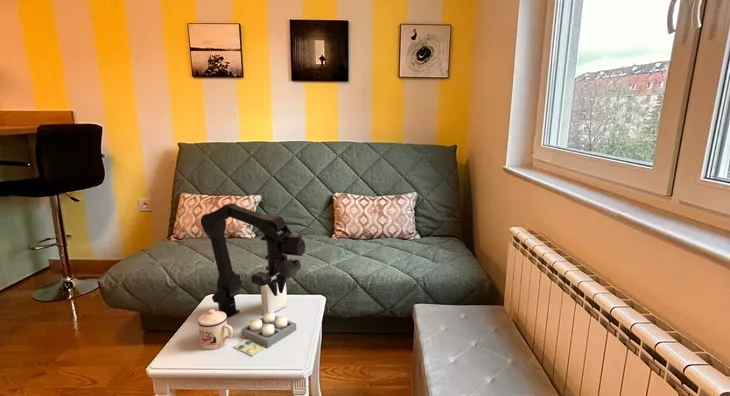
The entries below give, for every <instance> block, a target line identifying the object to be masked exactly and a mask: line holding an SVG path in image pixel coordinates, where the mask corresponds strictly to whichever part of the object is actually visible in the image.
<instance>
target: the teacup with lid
mask: <svg viewBox="0 0 730 396" xmlns="http://www.w3.org/2000/svg"><path fill="white" fill-rule="evenodd" d="M227 320H228V318H227V315H226V314H225V313H224V312H222V311H219V310H215V309H213V308H211V309H209V310H208V312H205V313H203V314H201V316H199V317H198V319H197V324H198V331H199V339H200V340H199V341H200V347H201V348H203V349H204V350H216V349H220V348H222V347H224V346H226V345H227V343H228V342H229V339H231V338H232V336H233V334H234V330H233V327H232V326H231V325H230V324H228V321H227Z"/></svg>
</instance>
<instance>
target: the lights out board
mask: <svg viewBox="0 0 730 396" xmlns="http://www.w3.org/2000/svg"><path fill="white" fill-rule="evenodd" d="M278 317H279V315H275V319H276V318H278ZM259 319H260V320H262V326H264V325H266V324H265V323H264V319H263V317H261V318H259ZM272 324H273V325H274V332H275V334H274V335H273V336H271V337H263V336H262V330H260V331H258V332H252V331H250V324H248V325H247V326H245V327H243V328H241V329H240V330H241V331H240V332H241V337H243V338H245V339H244V340H242V341H241V342H239V343H237V344H236V345H234V346H233V348H234V349H236V350H238V351H240V352H242V353H244V354H246V355H248V356H250V357H254V356H256V355H257V354H259V353H261V352H263V351H264V350H266V349H265V347H266V348H268V349H269V348H270V347H271V346H273V345H275V344H277V343H278V342H279V341H281V340H284V338H286V337H288V336H289V335H291V334H293V333H294V332H296V331H297V323H296V322H293V321H291V320H288V319H287V327H286V328H284V329H277V328H276V324H275V322H274V323H272ZM261 345H262V346H261Z"/></svg>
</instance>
